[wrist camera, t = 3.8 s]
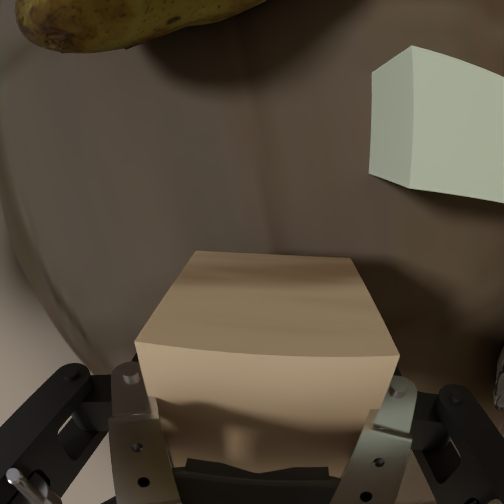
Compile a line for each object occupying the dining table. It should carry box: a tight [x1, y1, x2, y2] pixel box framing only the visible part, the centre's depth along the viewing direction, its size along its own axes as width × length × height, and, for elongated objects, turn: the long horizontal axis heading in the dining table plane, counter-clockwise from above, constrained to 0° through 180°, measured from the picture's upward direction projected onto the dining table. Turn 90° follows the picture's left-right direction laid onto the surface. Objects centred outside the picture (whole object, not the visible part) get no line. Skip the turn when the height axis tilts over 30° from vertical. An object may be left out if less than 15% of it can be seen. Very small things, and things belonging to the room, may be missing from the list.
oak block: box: [135, 251, 400, 478], centre depth 10 cm, size 6×6×6 cm
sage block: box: [369, 46, 504, 203], centre depth 11 cm, size 5×5×5 cm
